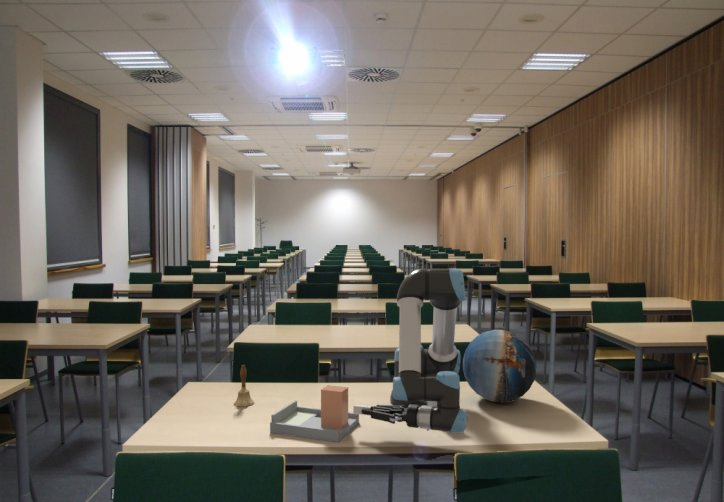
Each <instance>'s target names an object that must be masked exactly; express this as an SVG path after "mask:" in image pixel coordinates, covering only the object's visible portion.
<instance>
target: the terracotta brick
mask: <svg viewBox="0 0 724 502" xmlns="http://www.w3.org/2000/svg"><path fill="white" fill-rule="evenodd" d="M320 409H321V426H325V427H332V428H340V429H342V428H343V427H345V426H346V425H347V424H348V412H349V387H348V386H347V387H346V386H341V385H340V386H337V385H328V384H327V385H326V386H324V387H323V388H321V389H320Z"/></svg>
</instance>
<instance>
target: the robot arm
mask: <svg viewBox="0 0 724 502" xmlns="http://www.w3.org/2000/svg"><path fill="white" fill-rule="evenodd" d="M464 280H465V279H464V273H463V271H462V270H461V269H459V268H417V269H416V270H413V271H412V272H410V273H409V274H408V275H407V276H405V278H404V279H403V280H402V282H401V284H400V286H399V288H398V291H397V294H396V305H397V307H398V308H399V330H398V331H399V332H398V335H399V338H398V339H399V341H398V342H399V343H398V347H397V348H396V349H395V351H394V358H393V359H394V360H393V361H394V377H393V379H392V390H391V393H390V395H389V396H390V398H389V399H390V404H376V405H374V406H372V405H371V406H369V405H361V404H354V405H353V411H352V413H354V414H359V415H364V416H369V417H370V419H373V420H377V421H383V422H387V423H389V424H392V425H394V424H396V422H398V423H402V422H405V423H406V426H407V427H408V428H414V429H418V428H419V429H423V430H424V429H425V430H426V431H430V430H432V431H438V432H447V433H451V434H452V433H455V434H462V433H464V432H465V431H466V428H467V421H468V415H467V411H466V410H465V409H462V408H461V405H460V404H461V403H460V402H461V400H460V398H461V397H460V395H461V383H460V375H459V373H460V369H461V358H462V357H461V351H460V350H459V349H457V347H456V345H455V333H456V321H457V320H456V319H457V308H459V307H460V305H461V304H462V303H461V302H464V301H466V291H465V281H464ZM424 301H429V303H430V304H431V306H432V307H433V315H432V318H433V319H432V321H433V322H432V343H431V344H430V345H429V347H428V348H424V346H423V345H422V330H421V329H422V325H421V324H422V319H421V318H422V317H421V316H422V315H421V308H422V307H423V306H424ZM428 401H436V402H437V407H433V406H428V405H427V404H428Z"/></svg>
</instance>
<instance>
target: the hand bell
mask: <svg viewBox="0 0 724 502" xmlns="http://www.w3.org/2000/svg"><path fill="white" fill-rule="evenodd" d="M239 371H240V372H239V375H240V380H241V389H239V390H238V391H237V397H236V400H235V401H234V402H233V405H234V407H238V406H239V408H241V407H242V408H243V407H249V406H252V405H254V404H255V401H254V399H252V397H251V393H250V390H249V389H247V388H246V387H247V386H246V385H247V384H246V380H247V375H248V373H247V368H246V365H245V364H241V367H240V370H239Z"/></svg>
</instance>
